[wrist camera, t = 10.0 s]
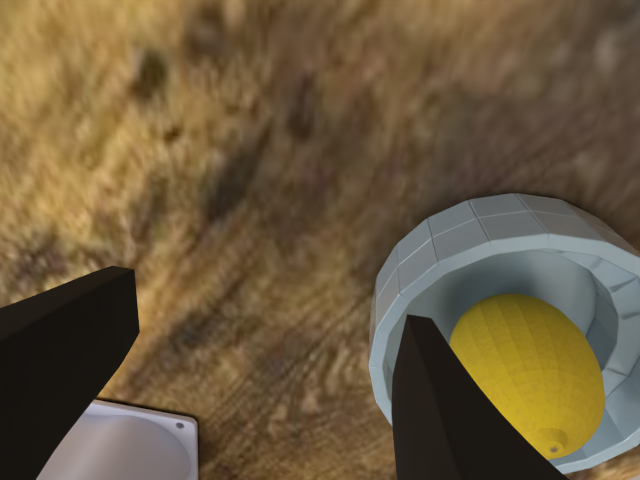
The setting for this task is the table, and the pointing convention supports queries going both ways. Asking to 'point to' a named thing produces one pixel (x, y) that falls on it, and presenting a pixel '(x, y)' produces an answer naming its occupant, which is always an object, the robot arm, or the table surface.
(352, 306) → the table surface
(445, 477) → the robot arm
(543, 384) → the lemon
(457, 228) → the bowl
